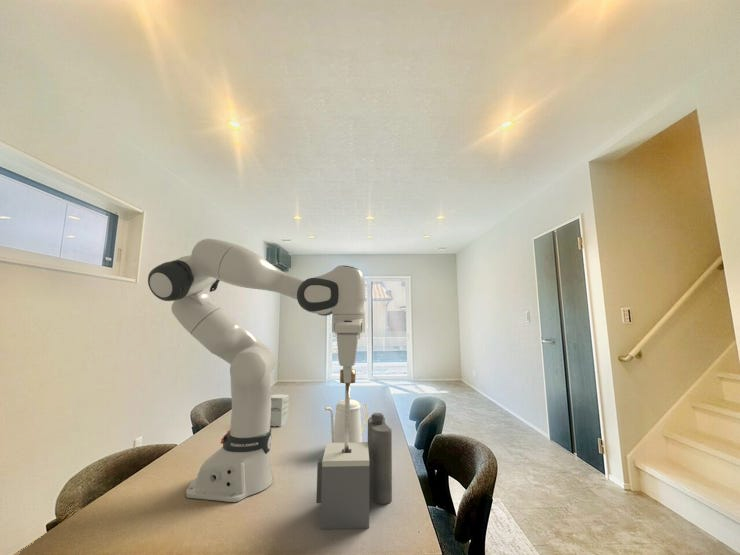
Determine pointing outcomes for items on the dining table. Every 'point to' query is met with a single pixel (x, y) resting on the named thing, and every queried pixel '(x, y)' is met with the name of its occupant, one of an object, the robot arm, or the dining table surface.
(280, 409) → the supplement box
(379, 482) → the flask
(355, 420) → the coffeepot
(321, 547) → the dining table surface
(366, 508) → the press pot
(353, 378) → the plunger
